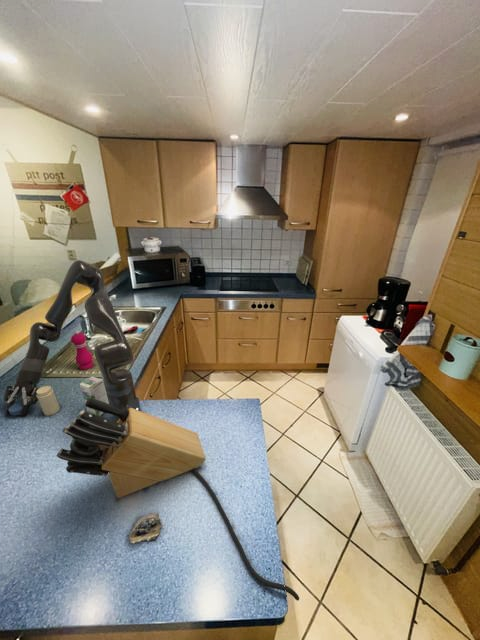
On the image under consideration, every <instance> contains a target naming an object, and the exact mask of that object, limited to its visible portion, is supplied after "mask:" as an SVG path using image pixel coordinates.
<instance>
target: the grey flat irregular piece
mask: <svg viewBox="0 0 480 640" xmlns="http://www.w3.org/2000/svg"><path fill="white" fill-rule="evenodd" d="M159 517H160V513H158V512H157V513H155V512H154V513H149V514H146V515H143V516H141V518H138V520H137V521H136V522H135V524H134V526H133V528H132V529H131V532H130V533H129V535H128V541H130V543H132V545H135V543H140V542H141V541H142V542H144V541H146V540H147V542H148V541H150V540H156V539H157V538H158V536H159V534H160V533H161V528H162V526H163V524H162V519H161V518H159Z"/></svg>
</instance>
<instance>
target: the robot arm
mask: <svg viewBox="0 0 480 640" xmlns="http://www.w3.org/2000/svg"><path fill="white" fill-rule="evenodd" d="M76 284H79V285H81V286H85V287H87V288H89V290H90V293H91V294H90V295H89V296H88V297H87V298H86V300H85V302H84V309H85V313H86V316H87V319H88V322H90V324H92V326H94V327H95V328H97V329H99V330H101V331H103V332H104V333H106V334H108V335H109V336H110V337H111V338H112V340H113V341H109V342H105V343H101V344H98V345H96V346H95V348H94V357H95V360H96V363H97V366H98V369H99V372H100V374H101V377H102V380H103V384H104V387H105V391H106V395H107V399H108V403H109V404H110V405H112V406H114V407H116V408H117V409H119V410H122V411H124V410H125V409H126V410H128V409H129V408H133V409H136V410H138V411H141V412H142V409H141V405H140V400H139V397H137V394H136V388H135V384H134V379H133V375H132V372H131V371H130V370H129V369H127V368H126V369H125V368H123V367H125V366H128V365H130V364H132V362H133V361H134V353H133V351H132V348H131V345H130V343H129V342H128V339H127V337H126V335H125V333H124V331H123V329H122V327H121V324H120V322H119V319H118V316H117V313H116V310H115V308H114V305H113V303H112V301H111V298H110V296H109V293H108V290H107V287H106V283H105V279H104V274H103V272H102V270H101V268H99V267H98V266H96V265H93V264H90V263H88V262H86V261H84V260H81V259H77V260H75V261H73V262H72V263H71V264H70V266H69V268H68V269H67V271H66V274H65V276H64V278H63V281H62V284H61V285H60V288H59V290H58V293H57V295H56V297H55V298H54V301H53V303H52V304H51V305H50V307H49V309H48V310H47V312H46V313H45V315H44V319H45V320H46V322H48V323H45V322H42V321H41V322H40V321H37V322H34V323H33V324H32V325H31V327H30V329H29V344H28V349H27V352H26V354H25V357H24V359H23V360H22V363H21V365H20V368H19V370H18V373H17V375H16V378H15V381H16V383H15V384H14V385H7V386H6V387H5V388H6V389H5V393H4V397H3V401H4V402H6V407H5V410H4V414H5V415H11V414H10V412H9V410H8V409H9V407H10V406H12V405H13V404H15V403H17V401H18V400H19V399H21V398H22V400H23V401H24V405H23V406H22V409H21V412H20V414H19V416H27V414H28V413H29V410H30V408H31V406H32V405H36V404H37V403H38V402H39V401H38V399H37V396H36V395H37V393H36V391H37V390H38V389H39V388H40V387H38V386H37V385H38V384H39V383H40V381H41V378H42V375H43V372H44V370H45V367H46V363H47V359H48V357H49V354H50V347H48V346H46V345H44V344H42V343H41V342H40V340H41V341H44V342H49V343H54V342H56V341H58V340H59V339H60V337H61V334H62V330H63V325H64V323H65V321H67V319H68V317H69V316H70V314H71V312H72V310H73V303H74V302H73V295H72V290H73V288H74V286H75V285H76ZM111 416H112V419H113V421H115V422H117V421H118V420H119V419H120V418H119V417H118V416H115V415H112V414H111ZM190 471H191V472H192V473H193V474H194V475H195V476H196V477H197V478H198V479H199V480H200V481H201V482H202V484H203V485H204V486H205V488H206V489H207V491H208V492H209V494H210V495H211V497H212V499H213V500H214V502H215V504H216V506H217V508H218V510H219V512H220V514H221V516H222V518H223V520H224V523H225V524H226V527H227V529H228V531H229V533H230V535H231V537H232V539H233V541H234V543H235V545H236V548H237V549H238V551H239V553H240V556H241V558H242V560H243V562H244V564H245V566H246V568H247V570H248V571H249V572H250V574H251V575H252V577H253V578H255V580H257V582H259V583H260V584H262V585H263V586H265V587H268V588H271V589H275V590H279V591H283V592H285V590H286V593H288V594H289V595H290V596H292V597H293V598H294V600H295V601H300V596H299V594H298V593H297V592H296V591H295V590H294V589H293V588H292V587H290V586H288V585H286V584H283V583H278V582H273V581H270V580H267V579H265V578H263V577H262V576H261V575H260V574H259V573H258V572H256V570H255V569H254V568H253V566H252V565H251V563H250V561H249V559H248V557H247V555H246V552H245V550H244V549H243V546H242V543H241V542H240V540H239V538H238V537H237V535H236V533H235V530H234V528H233V526H232V524H231V522H230V520H229V517H228V516H227V514H226V512H225V510H224V508H223V506H222V504H221V502H220V501H219V499H218V497H217V495H216V493H215V492H214V490H213V489H212V487H211V486H210V485H209V483H208V482H207V481H206V479H205V478H204V477H203V475H201V473H199V471H198V470H196V468H195V469H192V470H190ZM284 585H285V587H284Z"/></svg>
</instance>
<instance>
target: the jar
mask: <svg viewBox="0 0 480 640" xmlns="http://www.w3.org/2000/svg"><path fill="white" fill-rule="evenodd" d="M38 388H39V389H38V390H37V391H36V393H37V395H36V396H37V399H38V401H37V402H38V403H39V406H40V409H41V410H42V412H43V416H52V415H55V414H57V412H59V411H60V408H61V407H60V404H59V402H58V400H57V397H56V394H55V392H54V389H53V388H52V387H51V386H50V385H44V386H41V387H38Z"/></svg>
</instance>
